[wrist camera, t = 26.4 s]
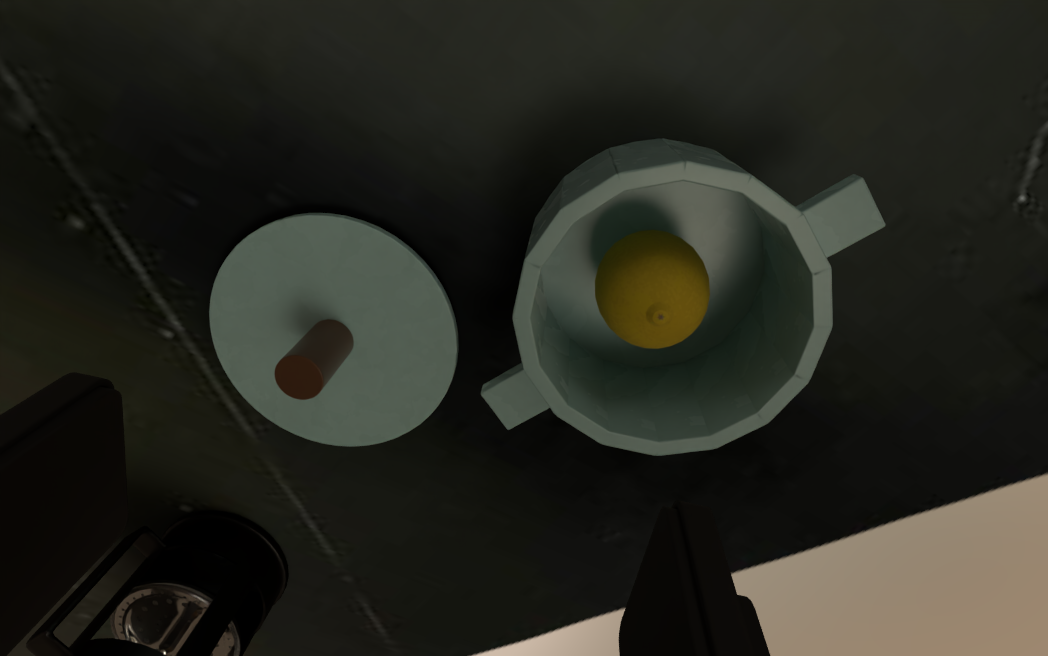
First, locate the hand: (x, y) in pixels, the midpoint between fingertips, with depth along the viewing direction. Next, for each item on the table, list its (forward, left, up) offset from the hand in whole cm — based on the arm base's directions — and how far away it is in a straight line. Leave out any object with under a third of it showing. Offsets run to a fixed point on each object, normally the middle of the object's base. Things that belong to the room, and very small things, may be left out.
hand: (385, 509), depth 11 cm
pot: (+2, +8, -26) cm, 28 cm away
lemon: (+2, +8, -26) cm, 27 cm away
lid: (+10, -9, -26) cm, 29 cm away
